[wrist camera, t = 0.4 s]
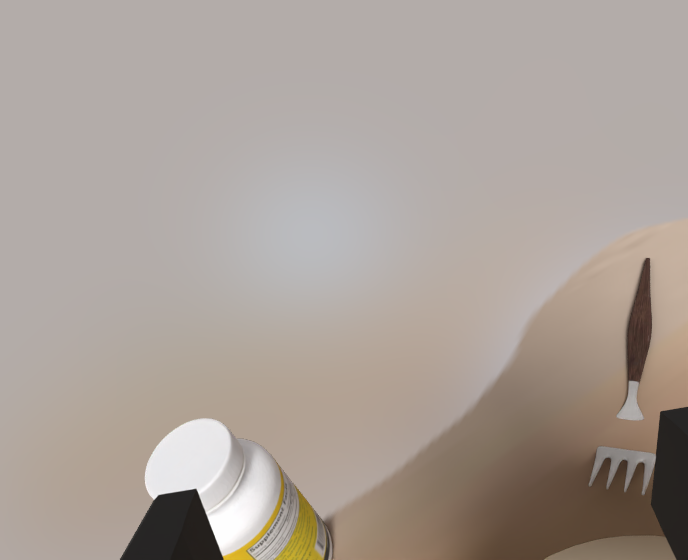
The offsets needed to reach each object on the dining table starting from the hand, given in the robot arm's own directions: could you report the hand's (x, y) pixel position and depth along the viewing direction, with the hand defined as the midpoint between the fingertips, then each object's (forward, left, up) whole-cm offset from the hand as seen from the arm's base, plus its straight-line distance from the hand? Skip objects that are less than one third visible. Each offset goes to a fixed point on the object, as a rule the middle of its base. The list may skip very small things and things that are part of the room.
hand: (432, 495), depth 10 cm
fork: (+16, -10, -20) cm, 28 cm away
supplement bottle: (+12, +10, -20) cm, 26 cm away
